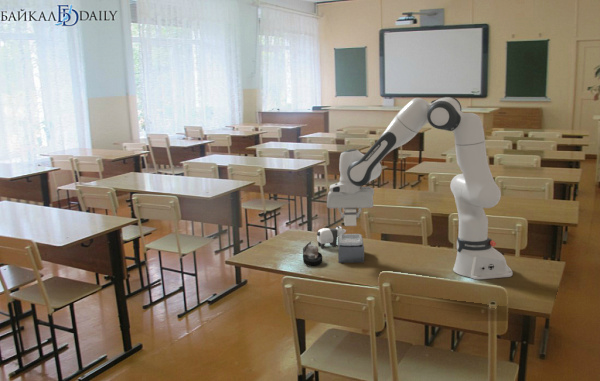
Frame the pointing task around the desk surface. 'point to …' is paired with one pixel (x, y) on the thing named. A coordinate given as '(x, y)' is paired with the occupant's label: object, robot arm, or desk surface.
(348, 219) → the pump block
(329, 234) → the giant panda
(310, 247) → the black based translucent ornament
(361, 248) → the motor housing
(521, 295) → the desk surface
